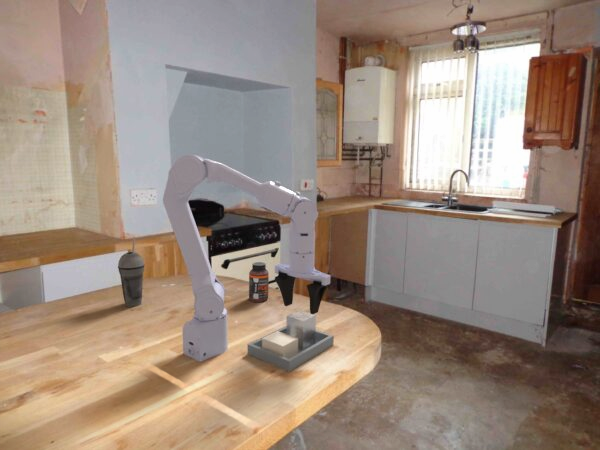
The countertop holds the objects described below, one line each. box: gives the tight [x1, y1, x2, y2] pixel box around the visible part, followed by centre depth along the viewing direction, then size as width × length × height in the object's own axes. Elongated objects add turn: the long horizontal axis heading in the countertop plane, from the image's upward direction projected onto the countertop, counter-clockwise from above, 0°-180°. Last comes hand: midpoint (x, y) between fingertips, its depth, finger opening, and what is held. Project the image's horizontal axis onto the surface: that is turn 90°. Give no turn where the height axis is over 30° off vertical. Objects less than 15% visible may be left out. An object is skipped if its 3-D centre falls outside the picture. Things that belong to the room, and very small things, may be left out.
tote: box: [247, 325, 335, 373], centre depth 96 cm, size 16×12×3 cm
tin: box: [285, 309, 317, 351], centre depth 98 cm, size 5×5×7 cm
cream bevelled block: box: [261, 330, 298, 359], centre depth 93 cm, size 5×6×4 cm
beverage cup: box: [117, 236, 146, 308], centre depth 123 cm, size 7×7×20 cm
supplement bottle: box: [248, 261, 270, 303], centre depth 129 cm, size 6×6×11 cm
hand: (300, 308), depth 97 cm, fingers open, 7 cm apart
